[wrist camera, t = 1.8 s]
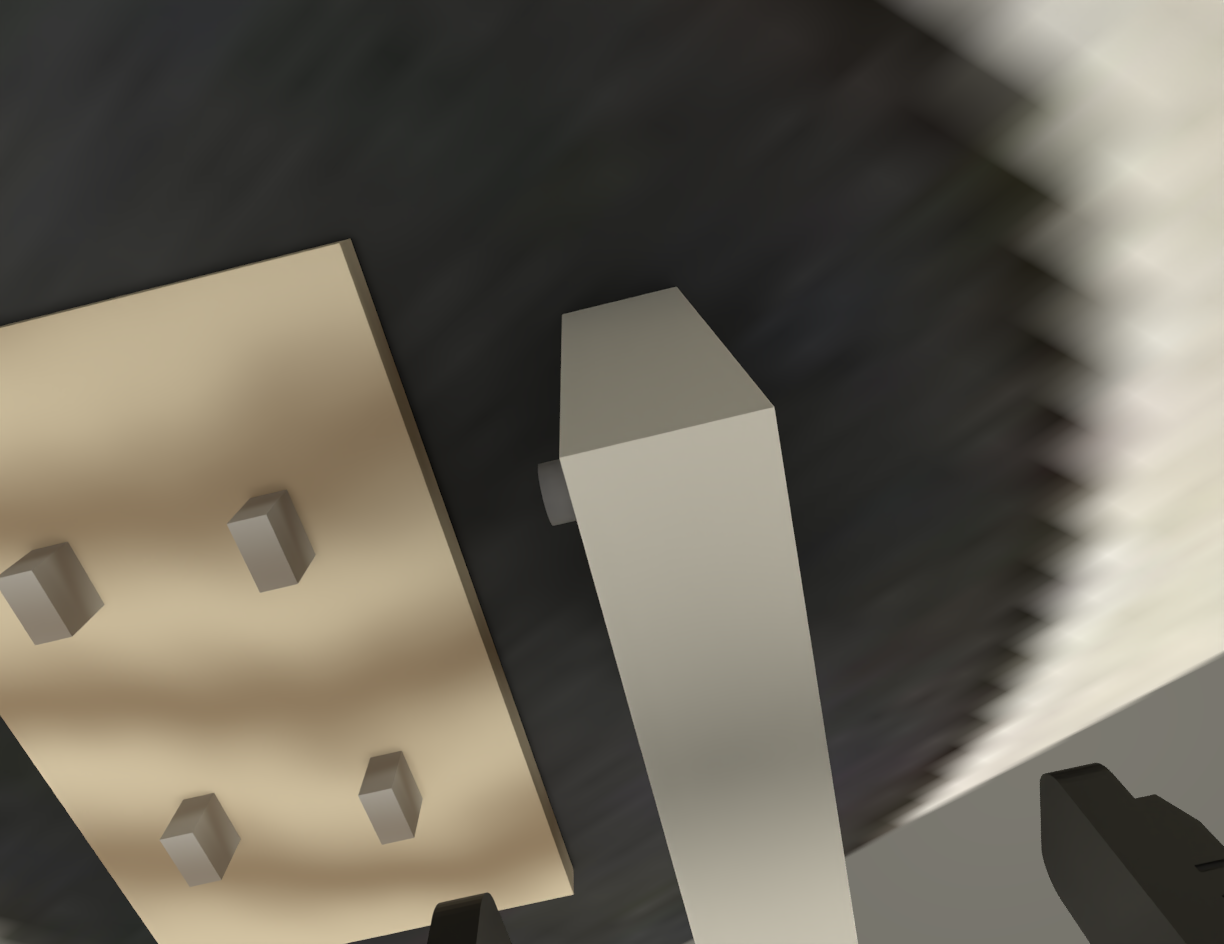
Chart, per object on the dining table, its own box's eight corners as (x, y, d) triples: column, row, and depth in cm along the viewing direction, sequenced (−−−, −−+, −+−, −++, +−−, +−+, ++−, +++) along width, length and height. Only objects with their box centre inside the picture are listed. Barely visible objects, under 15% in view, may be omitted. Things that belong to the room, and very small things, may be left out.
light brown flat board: (-190, 373, 19) (-293, 404, 17) (350, 238, 19) (320, 250, 16) (195, 950, 28) (161, 1023, 25) (573, 869, 27) (573, 935, 25)
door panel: (531, 321, 20) (502, 471, 11) (676, 285, 20) (773, 406, 10) (632, 688, 24) (673, 1015, 15) (750, 662, 24) (862, 975, 15)
